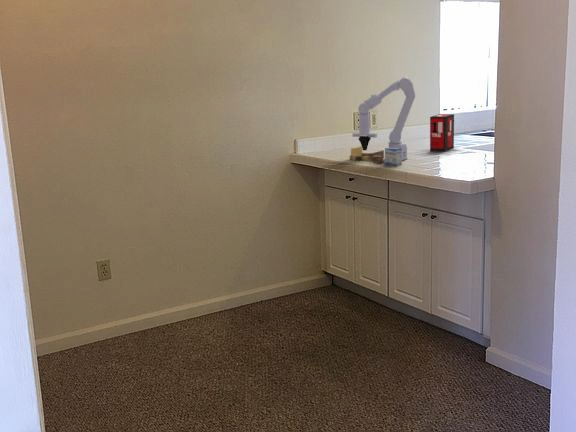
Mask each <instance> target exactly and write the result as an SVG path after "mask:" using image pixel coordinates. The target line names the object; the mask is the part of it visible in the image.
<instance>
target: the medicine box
mask: <svg viewBox="0 0 576 432" xmlns="http://www.w3.org/2000/svg"><path fill="white" fill-rule="evenodd" d="M402 164H403V160H402V149H401V148H389V147H386V148H384V165H385V166H394V165H395V166H396V167H398V166H402Z"/></svg>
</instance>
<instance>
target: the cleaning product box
mask: <svg viewBox="0 0 576 432" xmlns="http://www.w3.org/2000/svg"><path fill="white" fill-rule="evenodd" d="M429 138H430V139H429V151H430V152H442V153H443V152H447V151H450V150H451V149H454V148H455V114H454V113H453V114H451V113H444V114H443V113H441V114H440V113H439V114H436V115H433V116H432V115H431V116H430V117H429Z"/></svg>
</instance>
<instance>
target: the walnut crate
mask: <svg viewBox="0 0 576 432" xmlns="http://www.w3.org/2000/svg"><path fill="white" fill-rule="evenodd" d="M383 159H384V158H382V156H376V155H375V156H373V161H372V163H376V165H382V164H383V162H384V161H383Z"/></svg>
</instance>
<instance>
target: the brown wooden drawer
mask: <svg viewBox="0 0 576 432" xmlns="http://www.w3.org/2000/svg"><path fill="white" fill-rule="evenodd" d="M375 155H376V156H382V158H383V159H385V149H384V150H380V151H379V150H378V151H374V152H362V156H351V154H350V155H349V160H350V161H357V162H358V161H364V162H365V161H366V162H373V156H375Z"/></svg>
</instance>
